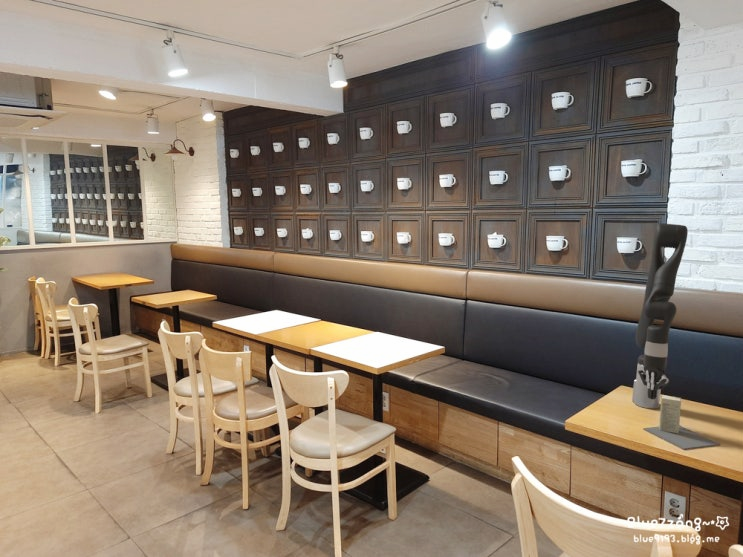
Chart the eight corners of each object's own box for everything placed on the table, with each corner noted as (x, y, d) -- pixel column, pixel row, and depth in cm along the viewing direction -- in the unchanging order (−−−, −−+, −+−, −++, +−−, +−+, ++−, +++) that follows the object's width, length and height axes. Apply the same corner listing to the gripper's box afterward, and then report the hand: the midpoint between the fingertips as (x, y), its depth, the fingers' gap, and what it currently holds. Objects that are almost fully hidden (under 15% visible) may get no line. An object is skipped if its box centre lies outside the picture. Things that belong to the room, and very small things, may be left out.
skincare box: (678, 430, 186) (682, 397, 184) (678, 434, 182) (682, 401, 181) (658, 426, 189) (661, 394, 188) (658, 429, 185) (661, 397, 184)
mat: (643, 429, 187) (643, 428, 187) (677, 425, 191) (677, 424, 191) (683, 449, 170) (683, 448, 170) (720, 445, 175) (720, 443, 175)
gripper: (678, 357, 186) (674, 403, 188) (649, 349, 198) (645, 392, 200) (662, 358, 184) (658, 405, 185) (633, 349, 196) (630, 393, 198)
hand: (651, 398), depth 193 cm, fingers closed
